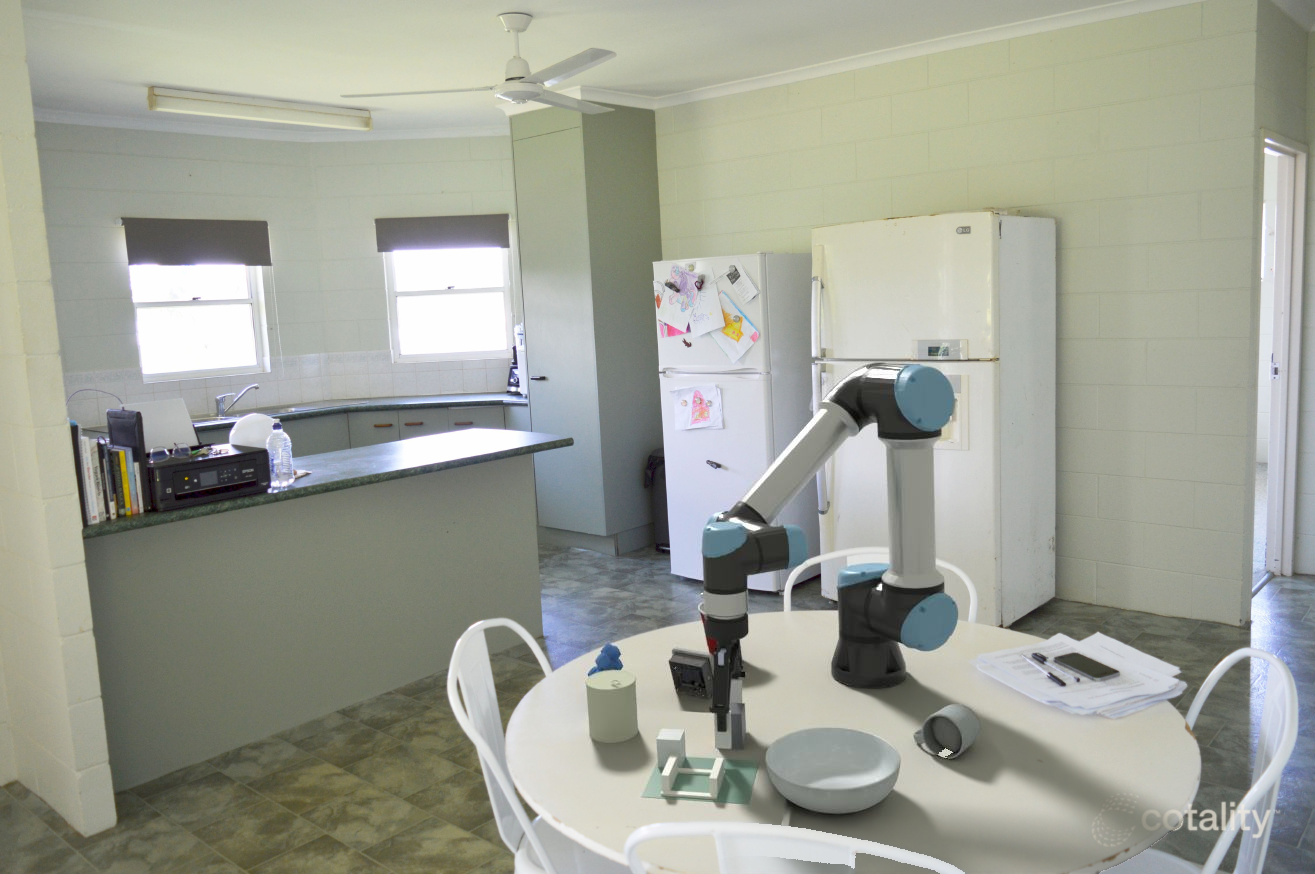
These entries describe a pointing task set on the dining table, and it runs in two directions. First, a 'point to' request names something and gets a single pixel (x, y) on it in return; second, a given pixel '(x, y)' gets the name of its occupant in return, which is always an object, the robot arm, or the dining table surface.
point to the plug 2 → (738, 725)
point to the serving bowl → (833, 768)
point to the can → (612, 706)
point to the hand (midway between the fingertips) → (729, 730)
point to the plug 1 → (671, 746)
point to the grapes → (607, 660)
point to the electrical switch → (692, 671)
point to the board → (703, 780)
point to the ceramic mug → (949, 730)
